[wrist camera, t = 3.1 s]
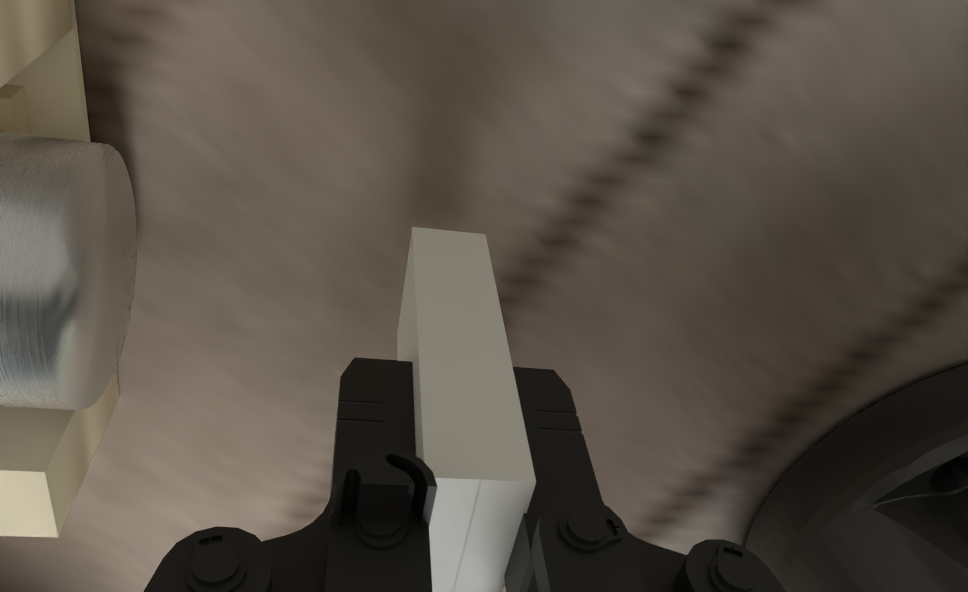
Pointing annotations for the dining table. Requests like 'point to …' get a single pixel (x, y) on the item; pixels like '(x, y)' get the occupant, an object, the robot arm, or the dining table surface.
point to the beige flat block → (76, 433)
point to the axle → (63, 269)
